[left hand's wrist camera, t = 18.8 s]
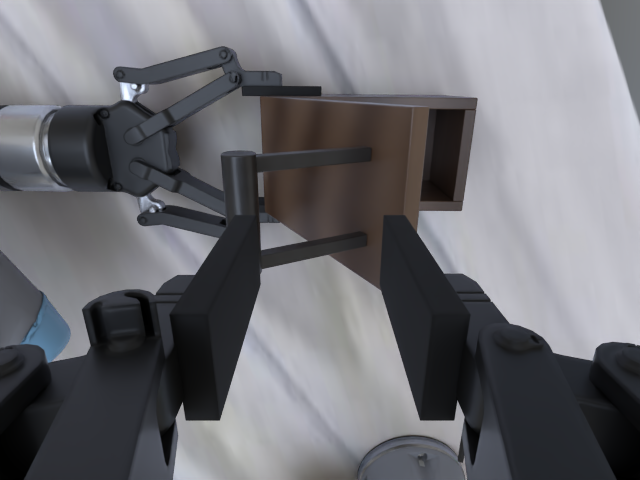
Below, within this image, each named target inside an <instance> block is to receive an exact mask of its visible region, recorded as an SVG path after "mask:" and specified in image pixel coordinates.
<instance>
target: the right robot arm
mask: <svg viewBox="0 0 640 480" xmlns="http://www.w3.org/2000/svg"><path fill="white" fill-rule="evenodd" d="M219 67H222V68H223V70H224V73H225V75H223V76H221V77H220V78H218V79H216V80H215V81H213V82H211V83H210V84H208V85H206V86H204V87H203V88H201V89H199V90H198V91H196V92H194V93H193V94H191V95H189V96H188V97H186V98H184V99H183V100H181V101H179V102H177V103H176V104H174V105H172V106H171V107H169V108H167V109H165V110H163V111H161V112H159V113H157V114H155V113H154V112H152V111H151V110H149V109H148V108H146V107H145V106H143V105H142V104H141V103H139V102H137V98H138V96H139V95H141V94H145V93H147V92H148V90H149V84H161V83H165V82H168V81H172V80H176V79H179V78H183V77H187V76H190V75H194V74H198V73H201V72H205V71H208V70H212V69H216V68H219ZM113 75H114V78H115V79H116V80H117V81H118V82H120V92H121V101H119V102H117V103H116V104H114V105H111V106H92V105H67V106H64V107H61V106H58V105H3V106H0V191H61V192H68V191H72V190H75V191H80V192H126V193H129V194H131V195H133V196H135V197H137V200H138V204H139V208H140V212H141V214H140V215H139V216H138V217H137V221H138V223H139V224H140V225H142V226H152V225H167V226H171V227H175V228H180V229H184V230H188V231H192V232H196V233H200V234H205V235H209V236H213V237H217V238H220V237H221V235H222V234H223V232H224V231H225V229H226V228H227V226H226V218H223V217H219V216H215V215H211V214H207V213H203V212H199V211H195V210H191V209H187V208H183V207H178V206H173V205H165V203H164V202H163V201H161V200H157V199H155V198H153V197H152V195H151V192H153V191H154V190H155V189H157V188H158V187H159V186H160V187H162V188H164V189H167V190H169V191H171V192H175V193H179V194H181V195H183V196H185V197H187V198H190V199H192V200H194V201H196V202H198V203H200V204H202V205H204V206H206V207H208V208H210V209H212V210H214V211H216V212H218V213H220V214H222V215H224V216H226V214H225V201H224V192H222V191H220V190H218V189H216V188H215V187H213V186H211V185H209V184H207V183H205V182H203V181H201V180H199V179H197V178H195V177H193V176H191V175H190V174H189V173H188V172H186V171H185V170H183V169H181V168H179V167H178V166H179V165H180V161H179V156H178V153H177V151H176V143H177V136H176V131H174V130H173V128H172V127H173V126H175V125H177V124H179V123H180V122H182V121H183V120H185V119H186V118H188V117H190V116H191V115H193V114H195V113H196V112H198V111H200V110H202V109H203V108H205V107H207V106H208V105H210V104H212V103H214V102H215V101H217V100H219V99H221V98H222V97H224V96H226V95H227V94H229V93H231V92H233V91H234V90H236V89H238V88H239V87H242V96H321V86H282V74H280V73H278V72H275V71H245V70H243V69H242V68H241V66H240V64H239V62H238V59H237V54H236V52H235V51H234V50H232V49H230V48H227V47H225V46H222V47H218V48H214V49H211V50H207V51H203V52H200V53H196V54H193V55H189V56H186V57H182V58H178V59H175V60H171V61H168V62H164V63H161V64H157V65H153V66H150V67H146V68H143V69H139V68H130V67H116V68H115V69H114V71H113ZM258 198H259V219H260V223H280V222H279V221H278V220H276V219H275V218H273V217H272V216H270V215H269V214H267V213H266V212H265V199H264V197H258ZM70 334H71V333H70V328H69V326H68V324H67V323H66V322H65V321H64V319H63V318H62V317H61V316H60V314H59V313H58V312H57V311H56V309H55V308H54V307H53V305H52V304H51V303H50V302H49V300H48V299H47V297H46V295H45V294H44V293H43V292H41V291H39V290H38V289H37V288H36V287H35V286H34V285H33V284H32V283H31V282H30V281H29V280H28V279H27V278H26V277H25V275H24V274H23V273H22V272H21V271H20V270H19V269H18V268H17V267H16V266H15V265H14V264H13V263H12V262H11V261H10V260H9V259H8V258H7V257H6V256H5V255H4V254H3V253H2V252H1V250H0V348H2V347H4V348H5V347H6V346H10V345H20V344H32V345H38V346H40V347H41V348H42V349H44V351H45V354H46V358H47V361H48V363H49V362H51V361H52V360H53V359H54V358H56V357H57V356H58V355H59V354H60V353H61V351H62V350H63V349H64V348H65V346H66V345H67V343H68V342H69V339H70Z"/></svg>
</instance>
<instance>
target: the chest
mask: <svg viewBox="0 0 640 480" xmlns="http://www.w3.org/2000/svg"><path fill="white" fill-rule="evenodd" d="M276 97H291V98H307V99H322V100H337V101H353V102H368V103H383V104H399V105H414V106H428V107H429V117H428V127H427V136H426V146H425V156H424V166H423V176H422V186H421V196H420V205H419V211H462V205H463V199H464V192H465V185H466V178H467V171H468V164H469V156H470V149H471V142H472V135H473V128H474V121H475V114H476V110H475V109H476V106H477V98H471V97H458V96H446V95H351V94H321V96H276Z"/></svg>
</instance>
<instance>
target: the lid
mask: <svg viewBox="0 0 640 480" xmlns="http://www.w3.org/2000/svg"><path fill="white" fill-rule="evenodd" d="M260 104H261V128H262V152H263V154H256V153H255V152H252V151H228V152H224V153H222V154H221V163H222V176H223V189H224V201H225V214H226V226H228V225H229V223H230V222H231V220H232V219H233V217H234V216H235V215H256V216H257V233H258V250H259V267H260V274H261V272H262V269H265V268H269V267H274V266H278V265H283V264H288V263H292V262H297V261H301V260H306V259H310V258H315V257H320V256H324V255H329V256H331V257H332V258H334V259H335V260H337V261H338V262H340V263H341V264H343V265H344V266H346V267H347V268H349V269H350V270H352V271H353V272H355V273H356V274H358V275H359V276H361V277H362V278H363V279H365V280H366V281H368V282H369V283H371V284H372V285H374V286H375V287H377V288H378V289H380V290H381V288H380V285H379V283H380V267H381V250H382V233H383V216H384V215H405V216H406V217H407V219H408V220H409V222H410V223H411V225H412V226H413V228H414V229H415V231H416V232H417V225H418V215H419V205H420V196H421V186H422V176H423V166H424V156H425V146H426V136H427V127H428V117H429V107H428V106H414V105H399V104H383V103H368V102H353V101H337V100H322V99H307V98H291V97H276V96H260ZM258 172H263V175H264V199H265V212H266V213H267V214H269V215H270V216H272V217H273V218H275V219H276V220H278V221H279V222H281V223H282V224H284V225H285V226H287V227H288V228H290V229H291V230H292V231H294V232H295V233H297V234H298V235H300V236H301V237H303V238H304V239H306V240H307V242H302V243H296V244H291V245H286V246H281V247H276V248H271V249H266V250H261V240H260V219H259V198H258V177H257V173H258Z"/></svg>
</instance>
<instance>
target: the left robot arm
mask: <svg viewBox="0 0 640 480" xmlns="http://www.w3.org/2000/svg"><path fill="white" fill-rule="evenodd" d="M260 285H261V283H260V267H259V250H258V233H257V216H256V215H235V216H234V217H233V219H232V220H231V222H230V223H229V225H228V226H227V228H226V229H225V231H224V232H223V234H222V235H221V237H220V238H219V240H218V241H217V243H216V244H215V246H214V247H213V249H212V250H211V252H210V253H209V255H208V256H207V258H206V260H205V261H204V263H203V264H202V266H201V267H200V269H199V270H198V272H197V273H196V275H177V276H175V277H174V278H172V279H170V280H169V281H167V282H165V283H164V284H163V285H162V286H161V288H160V289H159V290H158V291H157V293H156V295H153V294H152V293H151V292H149V291H144V290H140V289H135V290H122V291H116V292H112V293H109V294H106V295H103V296H100V297H98V298H96V299H94V300H93V301H91V302H89V303H88V304H87V305H86V306H85V307H84V308H83V309H82V312H83V316H84V320H85V324H86V328H87V332H88V336H89V340H90V344H91V347H90V349H89V351H88V353H87V355H84V356H80V357H75V358H70V359H65V360H60V361H54V362H49V363H48V361H47V358H46V354H45V351H44V349H42V348H41V347H40V346H38V345H32V344H20V345H10V346H6V347H5V348H4V347H2V348H0V480H173V473H174V465H175V457H176V449H177V441H178V431H177V425H176V419H175V418H176V416H177V413H178V411H179V409H180V407H181V404H182V402H183V406H184V412H185V419H186V420H220V418H221V415H222V411H223V408H224V405H225V401H226V398H227V395H228V391H229V388H230V385H231V381H232V378H233V375H234V371H235V368H236V365H237V361H238V358H239V355H240V351H241V348H242V345H243V341H244V338H245V335H246V331H247V328H248V325H249V321H250V318H251V315H252V311H253V308H254V305H255V301H256V298H257V295H258V291H259V288H260ZM379 285H380V288H381V291H382V295H383V298H384V301H385V305H386V308H387V311H388V315H389V318H390V321H391V325H392V328H393V331H394V335H395V338H396V341H397V345H398V348H399V351H400V355H401V358H402V361H403V365H404V368H405V371H406V375H407V378H408V381H409V385H410V388H411V391H412V395H413V398H414V401H415V405H416V408H417V411H418V415H419V418H420V420H454V419H455V412H456V406H457V400H458V402H459V404H460V407H461V409H462V411H463V414H464V416H465V419H464V424H463V430H462V436H461V442H460V448H459V455H458V457H457V455H456V454H455V453H454V452H453V451H452V450H451V449H450V448H449V447H448V446H446V445H445V444H443V443H441V442H439V441H437V440H434V439H431V438H426V437H417V436H409V437H401V438H396V439H393V440H390V441H387V442H385V443H383V444H381V445H379V446H377V447H376V448H374V449H373V450H372V451H370V452H369V453H368V454H367V455H366V457H365V458H364V459H363V461H362V462H361V464H360V467H359V470H358V480H465V475H464V472H463V469H462V467H461V464H460V462H462V463H463V459H464V456H465V464H466V472H467V480H640V346H639V345H637V346H636V345H635V344H630V343H619V342H610V343H603V344H601V345H600V346H598V347H597V348H596V351H595V354H594V358H593V361H590V360H585V359H580V358H574V357H569V356H564V355H559V354H555V353H553V352H552V350H551V348H550V346H549V345H548V343H547V342H546V341H545V340H544V339H543V338H542V337H541V336H539V335H538V334H536V333H535V332H533V331H531V330H529V329H526V328H524V327H521V326H518V325H513V324H509V322H508V321H507V320H506V319H505V317H504V316H503V315H502V314H501V312H500V311H499V310H498V309H497V307H496V306H495V305H494V304H493V302H491V300H490V298H489V297H488V296H487V295H486V294H484V291H483V290H482V288H481V287H480V286H479V285H478V283H477V282H475V281H474V280H472V279H470V278H469V277H467V276H465V275H464V274H444V273H443V272H442V270H441V269H440V267H439V266H438V264H437V263H436V261H435V260H434V258H433V256H432V255H431V253H430V252H429V250H428V249H427V247H426V246H425V244H424V243H423V241H422V240H421V238H420V237H419V235H418V234H417V232H416V231H415V229H414V228H413V226H412V225H411V223H410V222H409V220H408V219H407V217H406V216H405V215H384V216H383V233H382V250H381V267H380V283H379Z"/></svg>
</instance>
